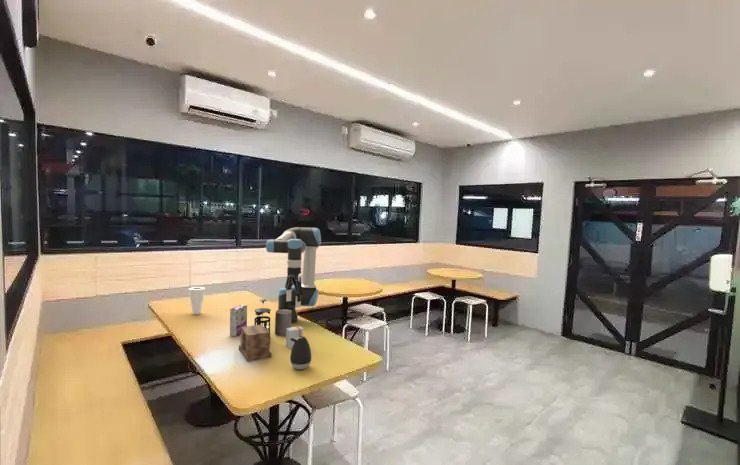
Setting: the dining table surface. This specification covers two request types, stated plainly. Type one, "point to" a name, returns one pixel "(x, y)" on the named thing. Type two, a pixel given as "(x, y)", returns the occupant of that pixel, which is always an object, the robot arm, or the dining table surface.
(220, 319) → the dining table surface
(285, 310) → the pillar candle
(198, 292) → the cup
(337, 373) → the dining table surface
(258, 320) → the french press
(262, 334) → the wooden slotted holder
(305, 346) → the pump dispenser
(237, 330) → the candy bar box
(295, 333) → the white carton
